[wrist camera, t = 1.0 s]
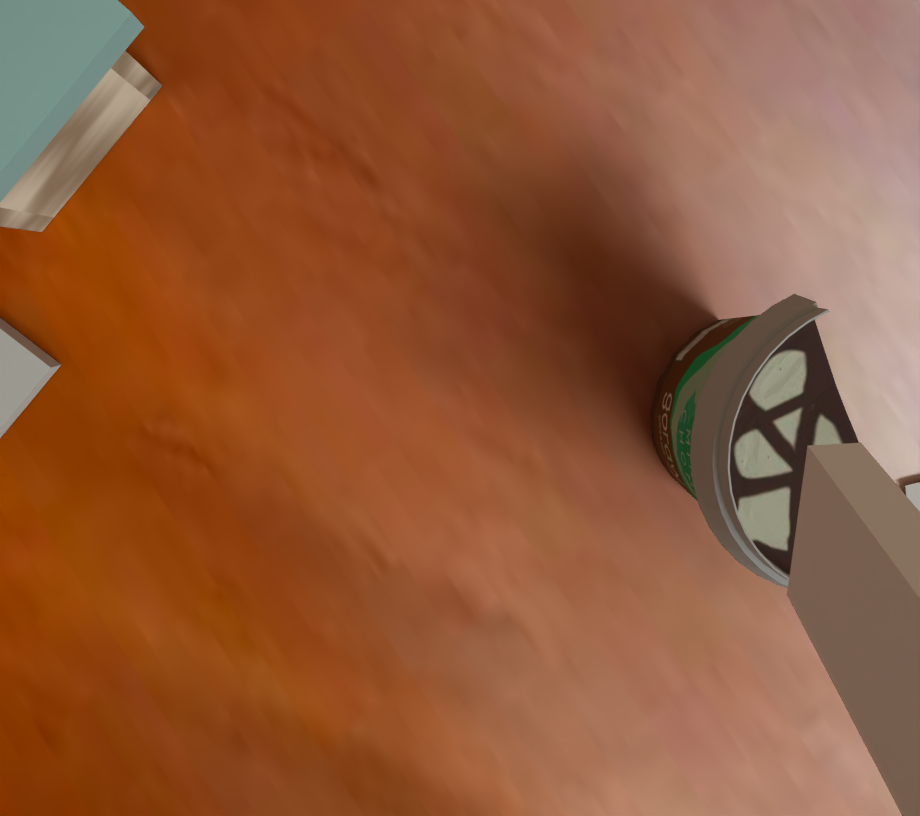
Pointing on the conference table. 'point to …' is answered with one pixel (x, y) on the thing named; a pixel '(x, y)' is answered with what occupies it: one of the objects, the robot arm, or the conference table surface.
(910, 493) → the paper stack
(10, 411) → the mat
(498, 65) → the conference table surface
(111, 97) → the box
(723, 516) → the food container
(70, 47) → the lid
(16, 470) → the conference table surface
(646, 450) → the conference table surface
